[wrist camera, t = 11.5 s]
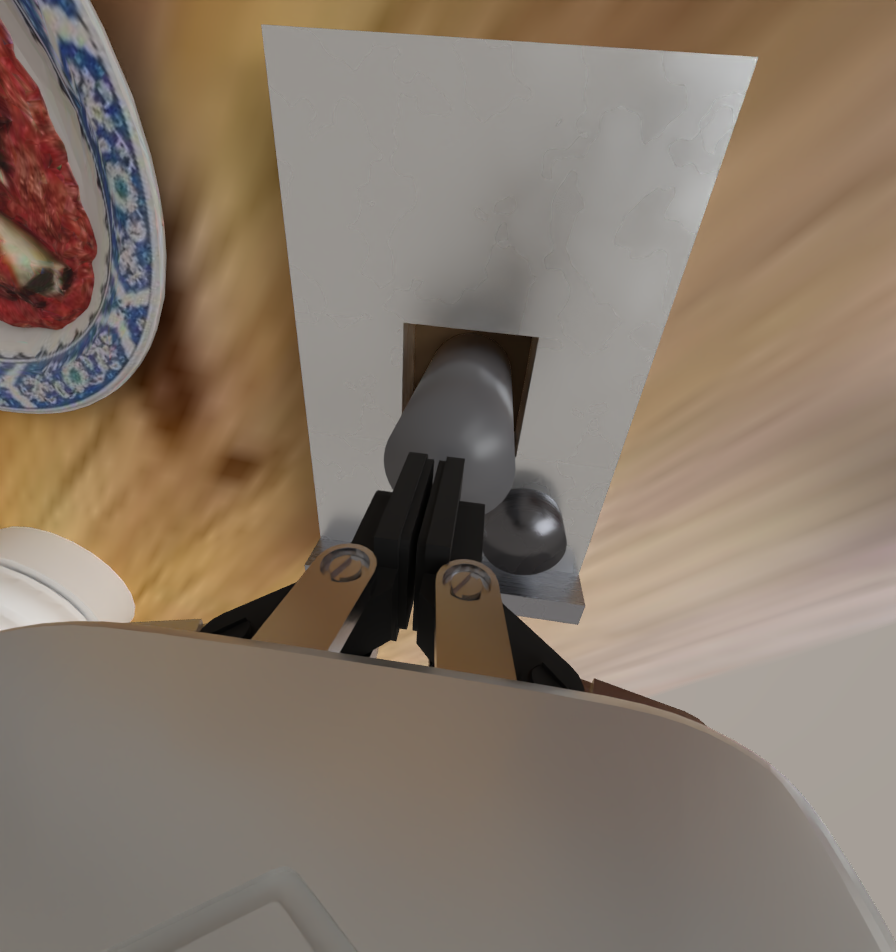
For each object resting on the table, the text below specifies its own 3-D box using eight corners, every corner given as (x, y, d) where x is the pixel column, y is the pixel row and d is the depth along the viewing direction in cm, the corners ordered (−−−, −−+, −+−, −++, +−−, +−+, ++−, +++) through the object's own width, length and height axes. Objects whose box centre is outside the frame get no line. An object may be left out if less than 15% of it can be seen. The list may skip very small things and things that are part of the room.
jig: (299, 56, 16) (217, -12, 11) (715, 85, 15) (807, 24, 11) (338, 527, 29) (307, 584, 24) (566, 559, 28) (577, 624, 23)
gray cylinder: (432, 328, 21) (383, 398, 12) (517, 338, 21) (526, 415, 12) (428, 408, 23) (383, 512, 15) (504, 417, 23) (504, 529, 15)
